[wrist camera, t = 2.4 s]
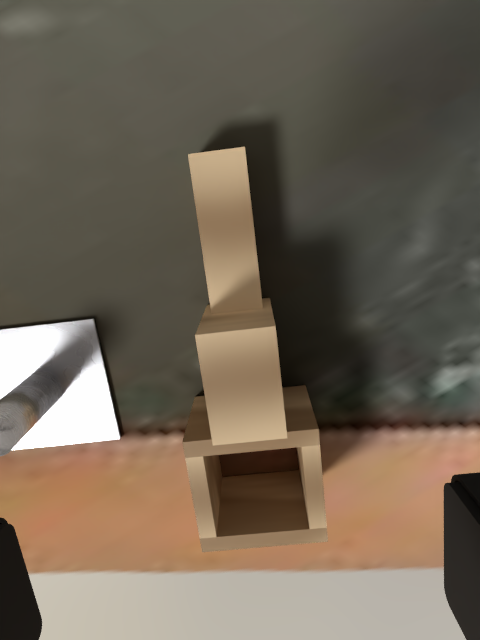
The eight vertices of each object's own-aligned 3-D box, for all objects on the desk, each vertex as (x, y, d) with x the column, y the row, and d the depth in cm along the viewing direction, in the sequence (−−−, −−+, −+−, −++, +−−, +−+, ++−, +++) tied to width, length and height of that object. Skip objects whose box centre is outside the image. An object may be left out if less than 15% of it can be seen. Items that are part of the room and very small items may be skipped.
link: (313, 480, 24) (329, 550, 19) (210, 490, 25) (201, 560, 20) (284, 146, 19) (295, 129, 15) (156, 163, 20) (125, 152, 15)
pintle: (94, 317, 22) (50, 351, 17) (121, 437, 24) (88, 497, 19) (-36, 333, 22) (-114, 369, 17) (1, 449, 24) (-61, 511, 19)
